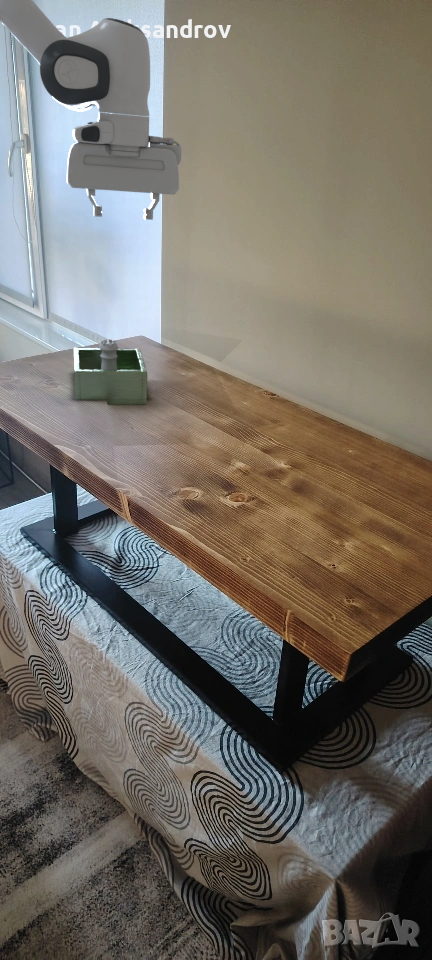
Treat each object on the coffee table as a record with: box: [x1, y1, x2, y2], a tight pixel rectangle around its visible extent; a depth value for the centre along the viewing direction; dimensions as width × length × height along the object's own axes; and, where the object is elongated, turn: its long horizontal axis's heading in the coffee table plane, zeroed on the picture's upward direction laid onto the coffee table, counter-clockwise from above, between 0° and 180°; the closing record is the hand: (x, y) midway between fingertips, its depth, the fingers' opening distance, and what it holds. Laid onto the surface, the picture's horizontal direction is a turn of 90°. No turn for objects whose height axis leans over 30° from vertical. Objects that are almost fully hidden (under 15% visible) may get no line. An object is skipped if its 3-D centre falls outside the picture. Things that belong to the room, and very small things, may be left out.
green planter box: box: [73, 347, 148, 406], centre depth 107 cm, size 12×12×6 cm
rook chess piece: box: [98, 338, 120, 370], centre depth 106 cm, size 4×4×8 cm
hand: (123, 217), depth 117 cm, fingers open, 8 cm apart
